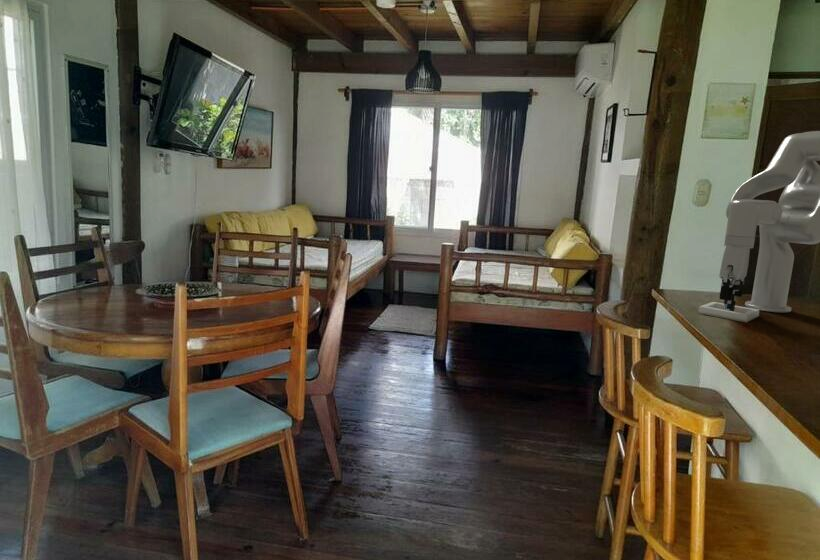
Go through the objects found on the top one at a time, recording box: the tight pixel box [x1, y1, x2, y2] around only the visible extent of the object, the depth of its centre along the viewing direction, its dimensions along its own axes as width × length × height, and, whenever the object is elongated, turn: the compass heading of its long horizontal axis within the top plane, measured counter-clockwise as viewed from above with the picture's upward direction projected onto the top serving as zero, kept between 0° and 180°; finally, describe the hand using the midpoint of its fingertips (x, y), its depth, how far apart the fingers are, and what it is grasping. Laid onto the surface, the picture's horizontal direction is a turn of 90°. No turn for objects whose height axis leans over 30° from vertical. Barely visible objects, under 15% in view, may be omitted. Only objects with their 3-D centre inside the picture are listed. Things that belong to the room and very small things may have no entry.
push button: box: [723, 280, 743, 311], centre depth 159 cm, size 7×5×10 cm
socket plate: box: [697, 301, 760, 323], centre depth 161 cm, size 12×13×2 cm
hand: (730, 297), depth 160 cm, fingers open, 9 cm apart
